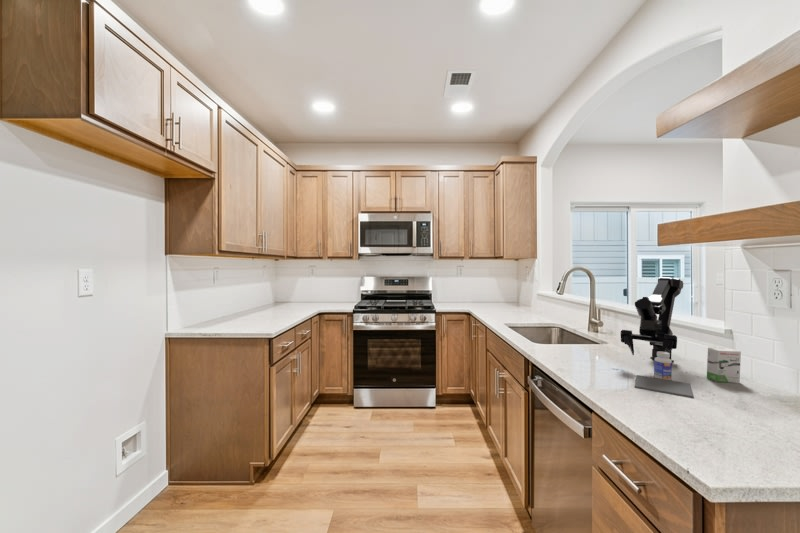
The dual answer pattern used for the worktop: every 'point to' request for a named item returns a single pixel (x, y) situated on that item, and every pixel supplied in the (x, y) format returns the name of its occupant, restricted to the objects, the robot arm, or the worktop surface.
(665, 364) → the pill bottle
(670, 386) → the rubber mat
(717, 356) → the ink box
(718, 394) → the worktop surface
